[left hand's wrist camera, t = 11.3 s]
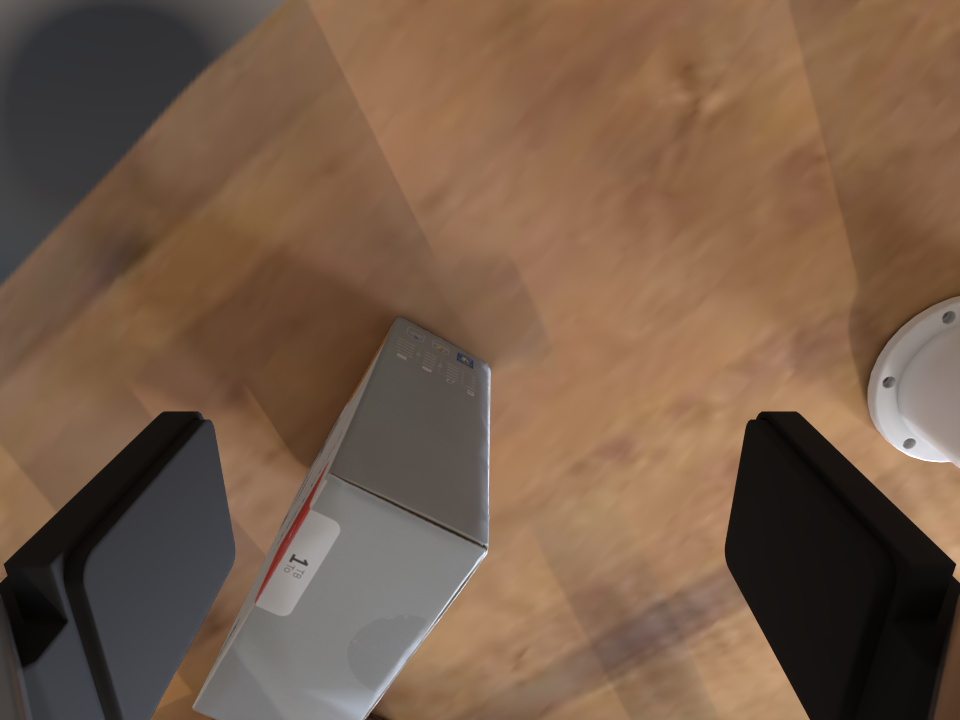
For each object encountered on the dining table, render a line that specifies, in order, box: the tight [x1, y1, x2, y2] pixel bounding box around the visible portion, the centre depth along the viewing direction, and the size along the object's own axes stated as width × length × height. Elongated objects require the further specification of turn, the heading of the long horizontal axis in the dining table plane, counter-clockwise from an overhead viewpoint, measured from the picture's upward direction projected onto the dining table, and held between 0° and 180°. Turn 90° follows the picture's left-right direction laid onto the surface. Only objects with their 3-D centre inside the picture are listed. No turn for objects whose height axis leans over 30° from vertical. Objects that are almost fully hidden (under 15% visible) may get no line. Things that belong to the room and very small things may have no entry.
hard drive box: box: [192, 317, 490, 720], centre depth 37 cm, size 16×8×20 cm, turn 149°
